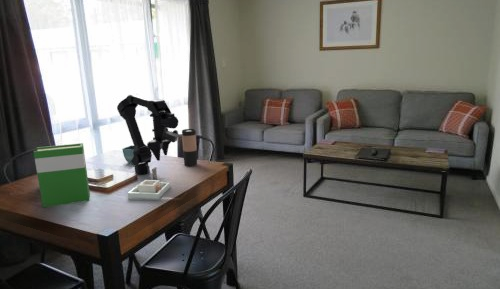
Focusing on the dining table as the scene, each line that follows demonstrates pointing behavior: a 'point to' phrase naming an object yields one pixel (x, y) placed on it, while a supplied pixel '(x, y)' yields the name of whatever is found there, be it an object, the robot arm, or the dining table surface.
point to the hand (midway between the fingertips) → (162, 157)
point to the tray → (148, 196)
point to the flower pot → (128, 153)
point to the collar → (149, 186)
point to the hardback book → (62, 174)
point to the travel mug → (189, 147)
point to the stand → (156, 176)
